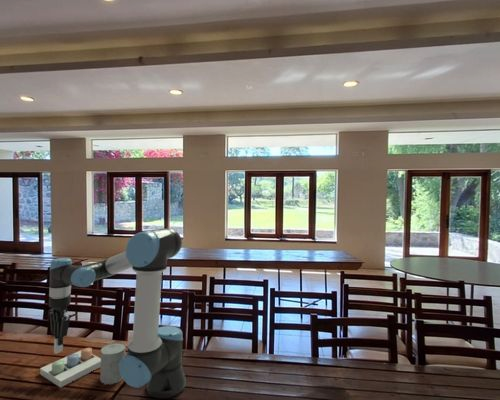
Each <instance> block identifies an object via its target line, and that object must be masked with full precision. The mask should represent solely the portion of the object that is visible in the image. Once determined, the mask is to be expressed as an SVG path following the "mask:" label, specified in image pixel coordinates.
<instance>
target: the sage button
mask: <svg viewBox="0 0 500 400" xmlns="http://www.w3.org/2000/svg"><path fill="white" fill-rule="evenodd" d="M53 362H54V363H53ZM53 362H51V363H52V375H53V376H56V375H58V374H60V373H62V372H64V360H60V359H58V360H56V361H53Z"/></svg>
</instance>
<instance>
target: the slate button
mask: <svg viewBox="0 0 500 400" xmlns="http://www.w3.org/2000/svg"><path fill="white" fill-rule="evenodd" d="M67 356H68V357H67ZM67 356H66V357H67V367H68V368H69V369H71V368H73V367H75V366H77V365H79V354H74V353H71V354H70V355H67Z"/></svg>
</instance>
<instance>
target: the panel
mask: <svg viewBox="0 0 500 400" xmlns="http://www.w3.org/2000/svg"><path fill="white" fill-rule="evenodd" d="M81 350H82V349H80V350H79V351H76V352H74V353H73V354H79V365H77V366H75V367H73V368H71V369H69V368H68V367H67V357H68V356H69V355H67V356H65V357H63V358H61V359H59V360H64V372H62V373H60V374H58V375H56V376H53V375H52V363H54V362H55V361H53V362H51V363H49V364H47V365H45V366H43V367H40V368H39V375H40V376H42V377H43V378H45V379H46V380H48V381H49V382H51V383H53V384H54V385H56V386H57V387H59V388H63V387H65V386H67V385H68V384H70V383H73V382H74V381H76V380H78V379H80V378H82V377H85V376H86V375H88V374H90V373H91V371H92V372H93V370H94V371H95V370H97V369H99V368H101V357H99V356H97V355H95V354H94V353H92V358H91V359H89V360H87V361H85V362H83V361H81ZM72 381H73V382H72Z"/></svg>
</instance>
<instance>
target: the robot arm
mask: <svg viewBox="0 0 500 400" xmlns="http://www.w3.org/2000/svg"><path fill="white" fill-rule="evenodd" d="M182 240H183V239H182V237H181V235H180V234H179V233H178V231H177V230H174V229H173V228H168V227H165V228H164V227H163V228H159V229H151V230H146V229H145V230H143V231H140V232H137V233H135V234H134V235H132V236H131V237H130V238H129V240H128V242H127V244H126V247H125V251H123V252H120V253H117V254H116V255H113V256H110V257H107V258H105V259H104V260H101V261H96V262H91V263H87V264H83V265H74V264H73V259H71V258H69V257H58V258H54V259H52V260H51V261H50V267H49V289H48V291H49V293H48V297H49V299H48V307H49V308H51V309H48V315H49V322H50V323H49V324H50V334H51V335H53V338H54V339H53V353H54V354H55V355H57V354H59V353H61V352H63V350H64V337H66V336H68V330H69V325H70V320H71V317H72V315H71V314H68V306H69V305H71V301H72V300H71V299H72V298H71V297H72V296H71V293H72V292H71V291H72V286H75V287H79V288H87V287H89V286H91V285H92V284H93V283H94V282H95V281H99V280H102V279H106V278H108V277H109V278H110V277H112V276H115V275H117V274H118V273H121V272H124V271H127V270H129V269H132V270H133V272H135V273H136V278H135V293H134V309H133V310H134V312H133V328H132V338H131V339H130V340H129V341H128V343H127V350H126V351H127V352H126V354H125V356H124V357H123V359H122V360H121V361H120V364H119V371H120V374H121V376H122V378H123V379H122V380H124V382H125V383H126V384H127V385H128V386H130V387H133V388H135V389H136V388H137V389H139V388H142V387H144V386H145V385H146V392H147V394H148V395H149V396H150V397H153V398H155V399H169V398H173V397H175V396H177V395H178V394H180V393H181V392H183V391H184V389H185V387H186V380H187V379H186V374H185V371H184V368H183V367H184V366H183V364H182V362H183V341H184V338H183V335H184V334H183V331H182V329H181V328H179V327H177V326H171V325H170V326H169V325H167V326H160V325H159V323H160V310H161V309H160V308H161V296H162V295H161V293H162V291H161V290H162V276H163V275H162V274H163V272H164V271H165V270H167V268H168V267H167V266H168V265H167V264H168V263H167V262H168V259H171V258H173V257H175V256H177V255H178V254H179V252H180V251H181V249H182V246H183V245H182V243H183V241H182Z"/></svg>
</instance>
